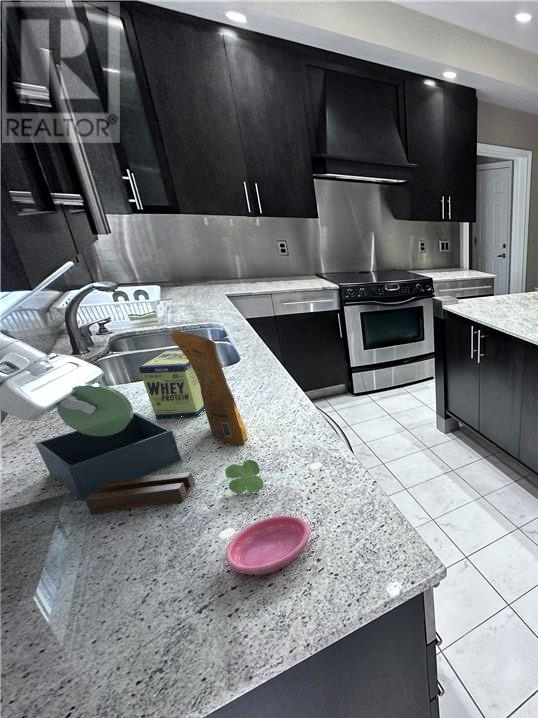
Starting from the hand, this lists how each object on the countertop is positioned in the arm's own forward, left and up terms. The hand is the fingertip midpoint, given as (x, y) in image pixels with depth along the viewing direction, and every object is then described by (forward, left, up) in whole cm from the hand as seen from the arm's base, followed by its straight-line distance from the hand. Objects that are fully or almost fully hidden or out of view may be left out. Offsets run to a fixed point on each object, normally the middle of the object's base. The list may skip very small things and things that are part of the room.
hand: (98, 407), depth 86 cm
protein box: (+23, +20, -15) cm, 35 cm away
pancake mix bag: (+19, -6, -15) cm, 25 cm away
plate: (0, 0, -1) cm, 1 cm away
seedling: (+11, -31, -15) cm, 36 cm away
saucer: (+1, -53, -15) cm, 55 cm away
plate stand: (-3, -18, -15) cm, 23 cm away
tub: (-1, 0, -15) cm, 15 cm away
